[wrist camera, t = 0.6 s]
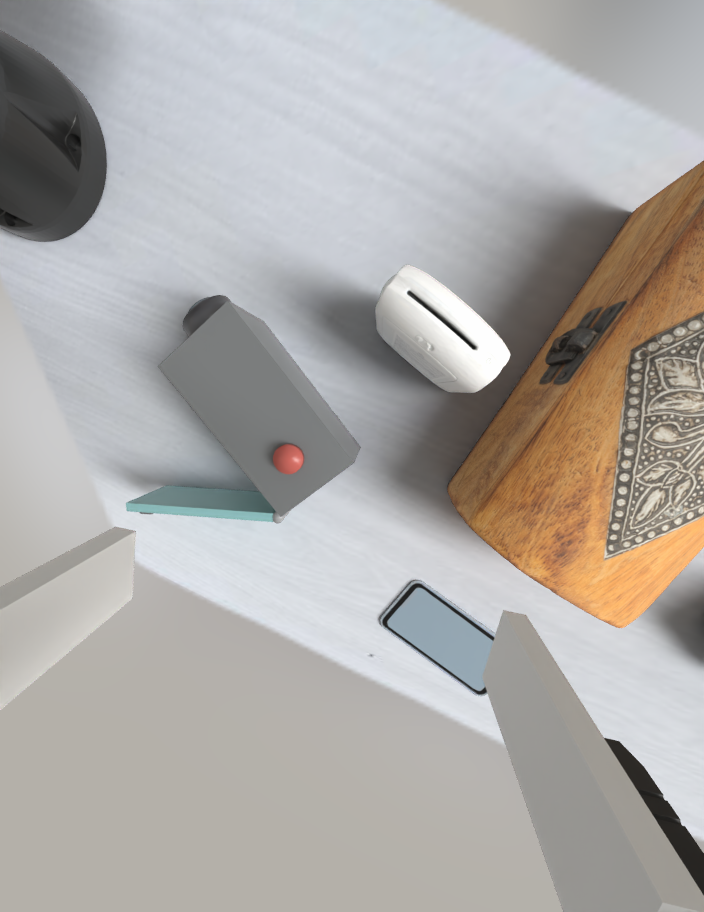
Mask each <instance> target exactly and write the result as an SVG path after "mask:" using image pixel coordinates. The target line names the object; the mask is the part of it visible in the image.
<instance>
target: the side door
mask: <svg viewBox="0 0 704 912" xmlns="http://www.w3.org/2000/svg"><path fill="white" fill-rule="evenodd" d="M126 507H127V511H132V512H140V514H153V513H159V514H173V515H186V516H200V517H213V518H227V519H240V520H254V521H267V522H273V521H274V522H275V523H281V522H282V521H283V519H284V518H285V517H286V516H287V514H288V513H289V512H290V511H291V510H290V511H288V512H287V513H286V514H284V515H283V516H282V517H280V516H279V514H278V513H277V512H276V511H275V510H274V508H273V507H272V506H271V505H270V503H269V502H268V501H267V500H266V498H265V497H264V496H263V495H262V494H261V492H258V491H243V490H228V489H213V488H198V487H183V486H168V485H167V486H164V487H162V488H160V489H157V490H155V491H153V492H150V493H148V494H146V495H143V496H141V497H139V498H136V499H134V500H132V501H129V502H127V503H126Z"/></svg>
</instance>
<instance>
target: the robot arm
mask: <svg viewBox="0 0 704 912" xmlns="http://www.w3.org/2000/svg"><path fill="white" fill-rule="evenodd" d="M106 167H107V163H106V149H105V143H104V138H103V134H102V131H101V128H100V125H99V122H98V120H97V117H96V115H95V113H94V111H93V109H92V107H91V106H90V104H89V102H88V101H87V99H86V98H85V97H84V95H83V94H82V93H81V92H80V90H79V89H78V88H77V87H76V86H75V85H74V84H73V83H72V82H71V81H70V80H69V79H68V78H67V77H66V76H65V75H64V74H63V73H62V72H61V71H60V70H59V69H58V68H57V67H56V66H55V65H54V64H52V63H51V62H50V61H49V60H48V59H46V58H45V57H44V56H43V55H41V54H40V53H38V52H37V51H35V50H34V49H32V48H30V47H29V46H27V45H25V44H23V43H22V42H20V41H18V40H17V39H15V38H13V37H11V36H10V35H8V34H6V33H5V32H3V31H1V30H0V228H2V229H5V230H7V231H9V232H12V233H14V234H16V235H19V236H21V237H24V238H27V239H30V240H35V241H53V240H58V239H62V238H64V237H67V236H69V235H71V234H73V233H74V232H76V231H77V230H78V229H80V228H81V227H82V226H83V225H84V224H85V223H86V222H87V221H88V220H89V218H90V217H91V216H92V214H93V213H94V211H95V209H96V207H97V205H98V203H99V201H100V198H101V196H102V192H103V189H104V185H105V179H106ZM135 535H136V531H133V530H128V529H123V528H119V527H114V528H112V529H110V530H108V531H106V532H104V533H103V534H101V535H99V536H97V537H95V538H93V539H91V540H89V541H87V542H86V543H83V544H81V545H80V546H78V547H76V548H74V549H72V550H70V551H68V552H66V553H64V554H62V555H60V556H59V557H57V558H55V559H53V560H51V561H49V562H47V563H45V564H43V565H41V566H39V567H38V568H36V569H34V570H32V571H30V572H28V573H26V574H24V575H22V576H21V577H18V578H16V579H15V580H13V581H11V582H9V583H7V584H5V585H3V586H1V587H0V710H1V709H2V708H3V707H4V706H6V705H7V704H8V703H9V702H10V701H12V700H13V699H14V698H15V697H16V696H18V695H19V694H20V693H21V692H22V691H23V690H25V689H26V688H27V687H28V686H29V685H31V684H32V683H33V682H34V681H35V680H36V679H38V678H39V677H40V676H41V675H42V674H44V673H45V672H46V671H47V670H48V669H50V668H51V667H52V666H53V665H54V664H55V663H57V662H58V661H59V660H60V659H61V658H62V657H64V656H65V655H66V654H67V653H68V652H70V651H71V650H72V649H73V648H74V647H76V646H77V645H78V644H79V643H80V642H81V641H82V640H84V639H85V638H86V637H87V636H89V635H90V634H91V633H92V632H93V631H94V630H96V629H97V628H98V627H99V626H100V625H101V624H103V623H104V622H105V621H106V620H107V619H109V618H110V617H111V616H112V615H113V614H115V613H116V612H117V611H118V610H119V609H120V608H122V607H123V606H124V605H125V604H126V603H128V602H129V601H130V600H131V599H132V596H133V576H134V556H135ZM482 678H483V681H484V684H485V687H486V690H487V693H488V696H489V698H490V701H491V704H492V707H493V710H494V713H495V716H496V719H497V722H498V724H499V727H500V730H501V733H502V736H503V739H504V742H505V745H506V748H507V750H508V753H509V756H510V759H511V762H512V765H513V768H514V771H515V773H516V776H517V779H518V782H519V785H520V788H521V791H522V794H523V797H524V799H525V802H526V805H527V808H528V811H529V814H530V817H531V819H532V823H533V826H534V828H535V831H536V834H537V837H538V839H539V843H540V846H541V849H542V852H543V854H544V857H545V860H546V863H547V866H548V869H549V872H550V875H551V877H552V880H553V883H554V886H555V889H556V892H557V895H558V897H559V900H560V903H561V906H562V909H563V912H704V853H703V852H702V851H701V849H700V848H699V846H698V845H697V843H696V842H695V840H694V839H693V837H692V836H691V834H690V833H689V832H688V830H687V829H686V827H685V826H682V825H681V822H680V819H679V817H678V816H677V814H676V813H675V811H674V810H673V808H672V807H671V806H670V804H669V803H668V801H665V800H664V798H663V794H662V792H661V791H660V790H659V788H658V787H657V785H656V784H655V782H654V781H653V779H652V778H651V777H650V775H649V774H648V772H647V771H646V769H645V768H644V766H643V765H642V764H641V763H640V762H639V761H638V760H637V759H636V758H635V757H634V756H633V755H632V754H631V753H630V752H629V751H628V750H627V749H626V748H625V747H624V746H623V745H622V744H621V743H620V742H619V741H615V740H611V739H607V738H604V737H603V736H602V734H601V733H600V731H599V729H598V728H597V726H596V725H595V723H594V722H593V720H592V718H591V717H590V715H589V714H588V712H587V711H586V709H585V707H584V706H583V704H582V703H581V701H580V700H579V698H578V696H577V695H576V693H575V692H574V690H573V688H572V687H571V685H570V684H569V682H568V681H567V679H566V677H565V676H564V674H563V673H562V671H561V670H560V668H559V666H558V665H557V663H556V662H555V660H554V658H553V657H552V655H551V654H550V652H549V651H548V649H547V647H546V646H545V644H544V643H543V641H542V640H541V638H540V636H539V635H538V633H537V632H536V630H535V628H534V627H533V625H532V624H531V622H530V621H529V619H528V617H527V616H526V615H523V614H518V613H514V612H509V611H504V610H503V613H502V616H501V619H500V622H499V626H498V629H497V632H496V635H495V638H494V641H493V644H492V648H491V651H490V654H489V657H488V660H487V663H486V666H485V670H484V673H483V676H482Z"/></svg>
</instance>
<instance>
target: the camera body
mask: <svg viewBox="0 0 704 912" xmlns="http://www.w3.org/2000/svg"><path fill="white" fill-rule="evenodd" d="M183 329H184V331H185V332H186V333H187V334H188V336H189V338H188V339H186V340H185V341H184V342H183V343H182V344H181V345H180V346H179V347H178V348H177V349H176V350H175V351H174V352H173V353H172V354H170V355H169V356H168V357H167V358H166V359H165V360H164V361H163V362H162V363H161V364H160V365H159V366H158V367H159V369H160V370H161V371H162V372H163V373H164V375H165V376H166V377H167V378H168V380H169V381H170V382H171V383H172V384H173V386H174V387H175V388H176V389H177V391H178V392H179V393H180V394H181V395H182V397H183V398H184V399H185V400H186V402H187V403H188V404H189V405H190V407H191V408H192V409H193V410H194V411H195V413H196V414H197V415H198V416H199V418H200V419H201V420H202V421H203V422H204V424H205V425H206V426H207V427H208V429H209V430H210V431H211V432H212V434H213V435H214V436H215V437H216V438H217V440H218V441H219V442H220V443H221V445H222V446H223V447H224V448H225V449H226V451H227V452H228V453H229V454H230V456H231V457H232V458H233V459H234V460H235V462H236V463H237V464H238V465H239V467H240V468H241V469H242V470H243V472H244V473H245V474H246V475H247V476H248V478H249V479H250V480H251V481H252V483H253V484H254V485H255V486H256V487H257V489H258V490H259V491H260V492H261V494H262V495H263V496H264V497H265V498H266V500H267V501H268V502H269V503H270V505H271V506H272V507H273V508H274V510H275V511H276V512H277V513H278V514H279V516H280V517H282V516H283V515H284V514H286V513H287V512H288V511H290V510H291V509H292V508H294V507H295V506H296V505H298V504H299V503H301V502H302V501H303V500H305V499H306V498H307V497H309V496H310V495H311V494H313V493H314V492H315V491H317V490H318V489H319V488H321V487H322V486H323V485H325V484H326V483H327V482H329V481H330V480H332V479H333V478H334V477H336V476H337V475H338V474H340V473H341V472H342V471H344V470H345V469H346V468H348V467H349V466H350V465H352V464H353V463H354V462H355V459H356V457H357V455H358V452H359V450H360V448H361V447H360V446H359V444H358V443H357V442H356V441H355V439H354V438H353V437H352V435H351V434H350V433H349V431H348V430H347V429H346V428H345V426H344V425H343V424H342V422H341V421H340V420H339V418H338V417H337V416H336V415H335V413H334V412H333V411H332V409H331V408H330V407H329V405H328V404H327V403H326V402H325V400H324V399H323V398H322V396H321V395H320V394H319V392H318V391H317V390H316V389H315V387H314V386H313V385H312V383H311V382H310V381H309V379H308V378H307V377H306V376H305V374H304V373H303V372H302V370H301V369H300V368H299V366H298V365H297V364H296V363H295V361H294V360H293V359H292V357H291V356H290V355H289V353H288V352H287V351H286V350H285V348H284V347H283V346H282V344H281V343H280V342H279V340H278V339H277V338H276V337H275V335H274V334H273V333H272V331H271V330H270V329H269V327H268V326H267V325H266V324H265V322H264V321H262V320H260V319H259V318H257V317H255V316H254V315H252V314H250V313H248V312H247V311H245V310H243V309H242V308H240V307H238V306H236V305H235V304H233V303H231V301H230V300H229V299H228V298H227V297H226V296H223V295H217V296H212V297H208V298H204V299H202V300H200V301H198V302H197V303H195V304H194V305H193V306H192V307H191V308H190V310H189V312H188V314H187V315H186V317H185V318H184V321H183Z"/></svg>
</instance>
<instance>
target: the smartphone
mask: <svg viewBox="0 0 704 912" xmlns="http://www.w3.org/2000/svg"><path fill="white" fill-rule="evenodd" d="M381 625H382V627H383V628H384V629H385V630H387V631H388V632H390V633H391V634H392V635H394V636H395V637H396V638H398V639H399V640H401V641H402V642H403V643H405V644H406V645H407V646H409V647H410V648H412V649H413V650H414V651H416V652H417V653H418V654H420V655H421V656H422V657H424V658H425V659H427V660H428V661H429V662H431V663H432V664H433V665H435V666H436V667H438V668H439V669H440V670H442V671H443V672H444V673H446V674H447V675H449V676H450V677H451V678H453V679H454V680H455V681H457V682H458V683H459V684H461V685H462V686H464V687H465V688H466V689H468V690H469V691H470V692H472V693H473V694H475V695H477V696H484V695H486V694H488V693H487V690H486V687H485V684H484V681H483V678H482V676H483V673H484V670H485V666H486V663H487V660H488V657H489V654H490V651H491V648H492V644H493V641H494V638H495V635H496V634H495V633H494V632H492V631H491V630H490V629H488V628H487V627H486V626H484V625H483V624H481V623H480V622H478V621H477V620H476V619H474V618H473V617H472V616H470V615H469V614H467V613H466V612H465V611H463V610H462V609H460V608H459V607H458V606H456V605H455V604H453V603H452V602H451V601H449V600H448V599H446V598H445V597H444V596H442V595H441V594H440V593H438V592H437V591H435V590H434V589H433V588H431V587H430V586H428V585H427V584H426V583H424V582H423V581H420V580H414V581H412V582H411V583H410V584H409V585H408V586H407V587H406V588H405V590H404V591H403V592H402V593H401V594H400V595H399V596H398V598H397V599H396V600H395V601H394V602H393V603H392V605H391V606H390V607H389V608H388V610H387V611H386V612H385V613H384V614H383V615H382V616H381Z"/></svg>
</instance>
